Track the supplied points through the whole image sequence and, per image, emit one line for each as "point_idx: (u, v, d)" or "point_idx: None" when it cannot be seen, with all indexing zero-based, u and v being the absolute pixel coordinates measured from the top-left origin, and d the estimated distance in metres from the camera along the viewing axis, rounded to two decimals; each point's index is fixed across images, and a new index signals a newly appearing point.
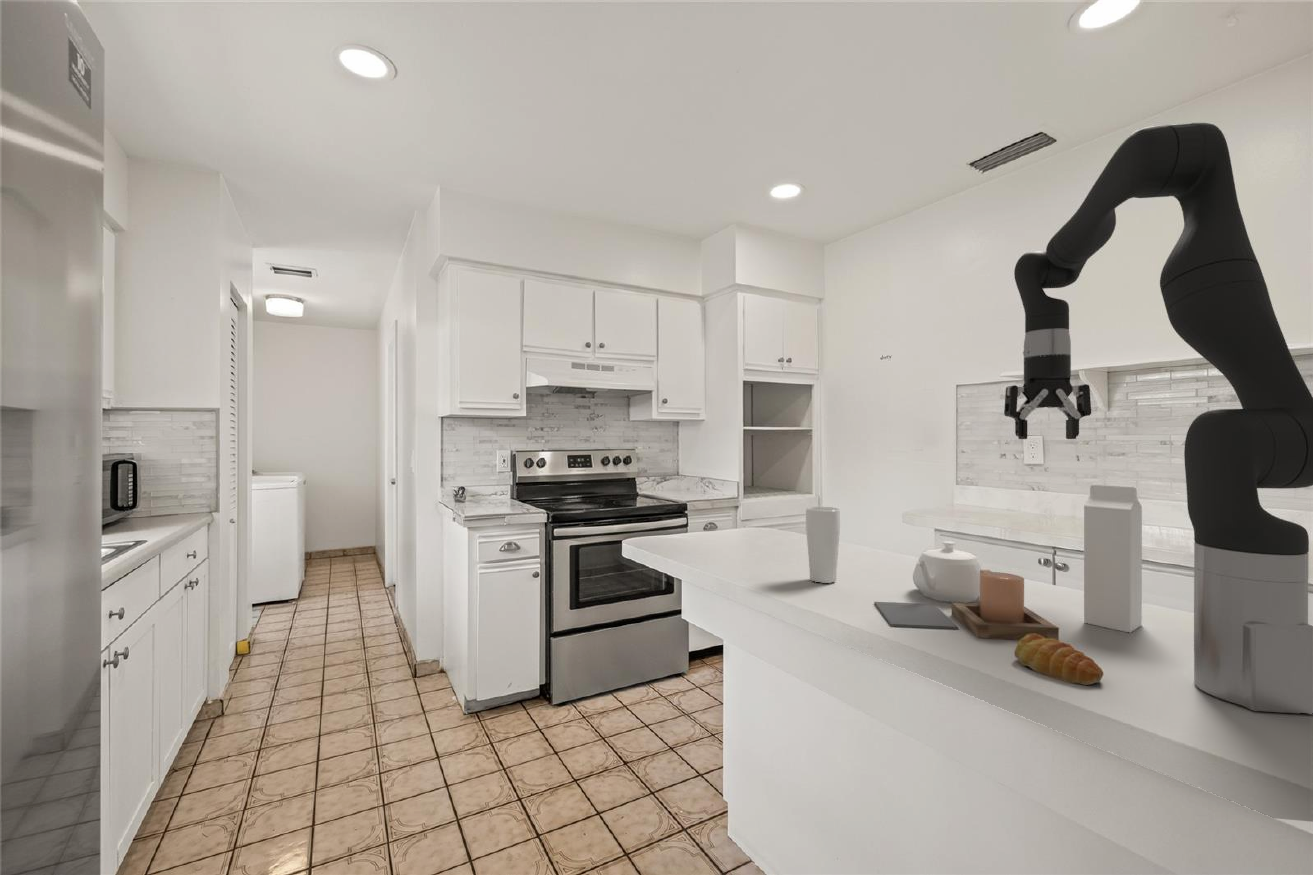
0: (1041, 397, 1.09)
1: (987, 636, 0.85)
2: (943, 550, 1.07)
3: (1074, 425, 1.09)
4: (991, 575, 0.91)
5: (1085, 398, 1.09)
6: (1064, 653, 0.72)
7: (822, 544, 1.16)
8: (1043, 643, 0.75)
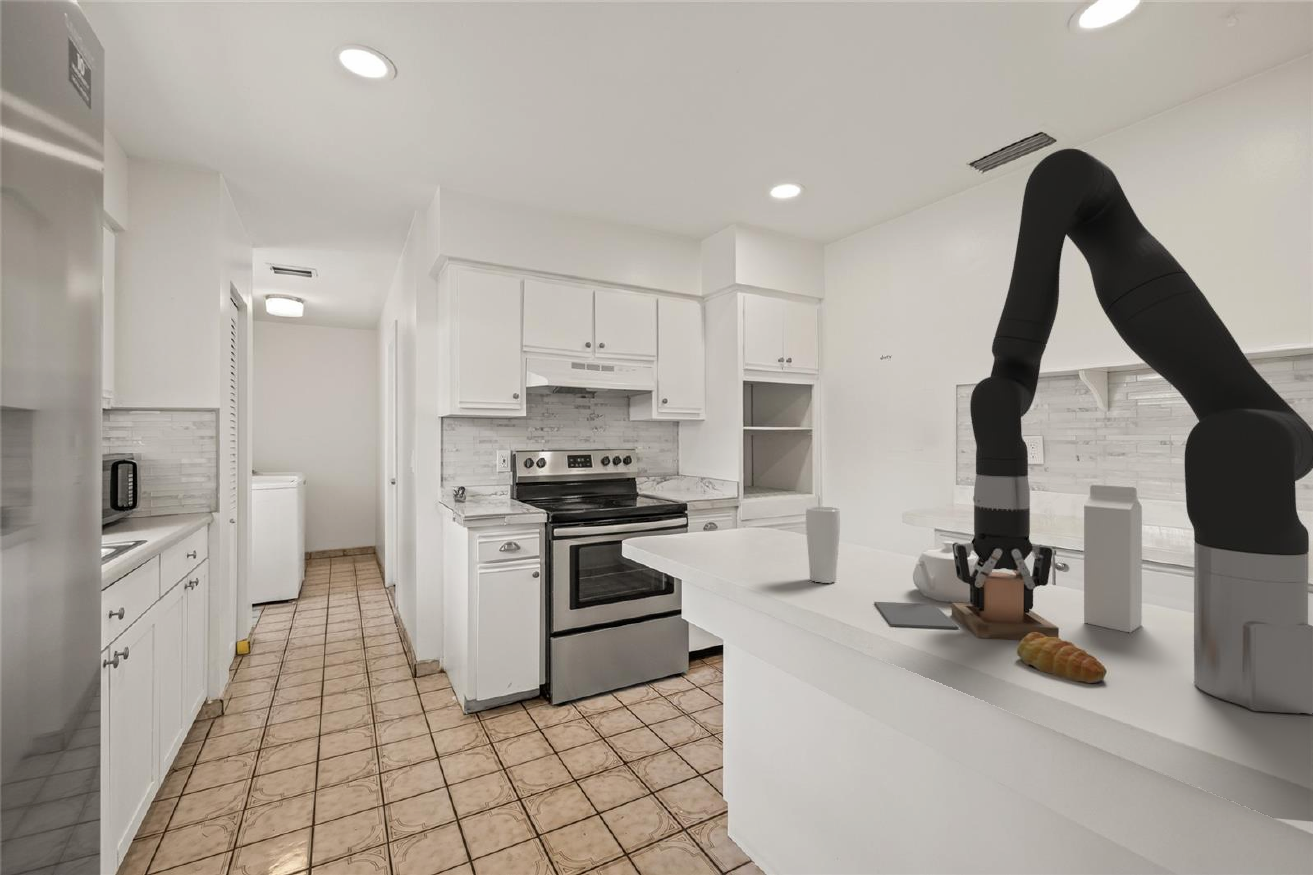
0: (995, 559, 0.89)
1: (987, 636, 0.85)
2: (943, 550, 1.07)
3: (1027, 597, 0.89)
4: (991, 575, 0.91)
5: (1044, 564, 0.88)
6: (1068, 652, 0.73)
7: (822, 544, 1.16)
8: (1046, 642, 0.75)
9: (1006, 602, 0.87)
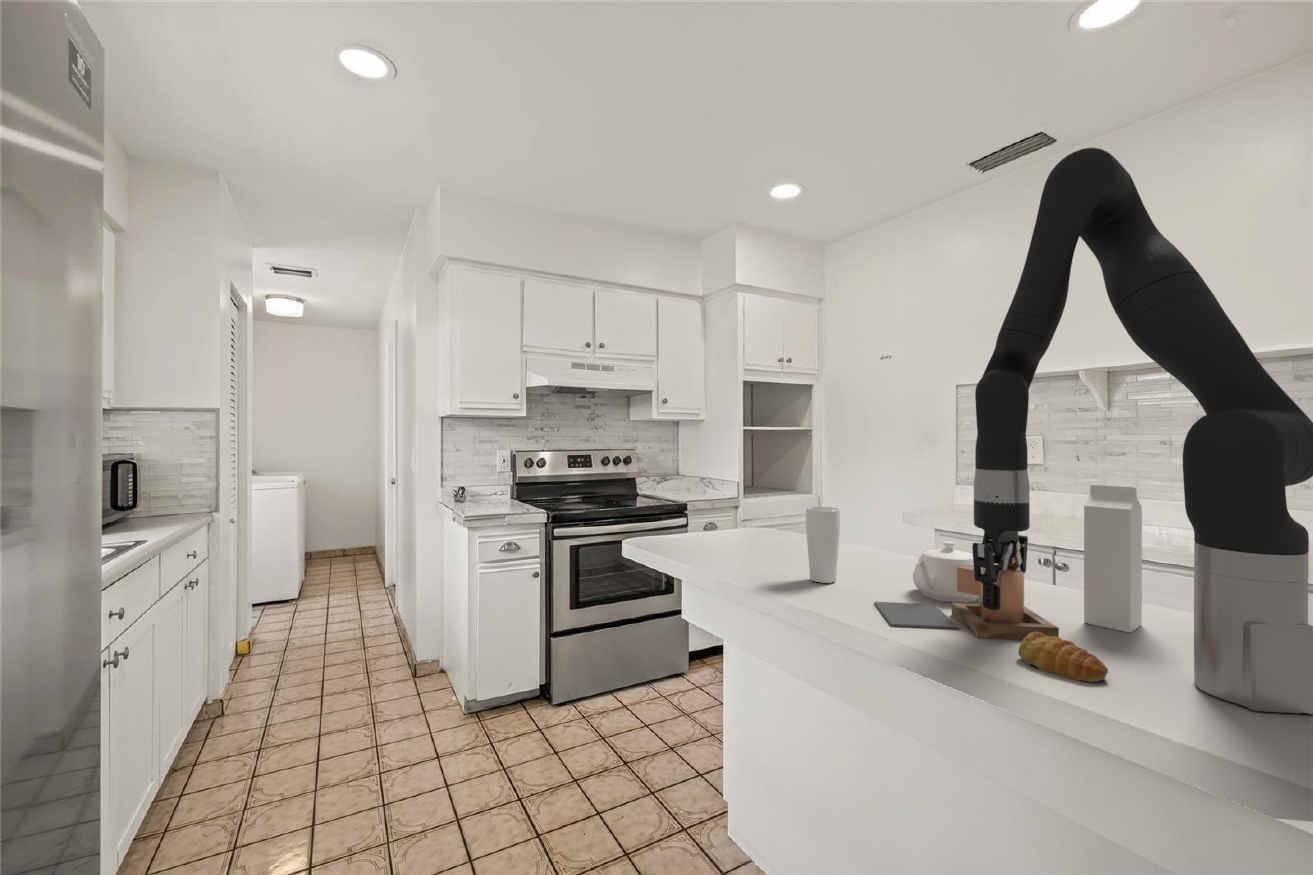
0: (1009, 554, 0.88)
1: (987, 636, 0.85)
2: (943, 550, 1.07)
3: None
4: (994, 571, 0.90)
5: (1024, 552, 0.92)
6: (1069, 651, 0.73)
7: (822, 544, 1.16)
8: (1047, 642, 0.75)
9: (1020, 596, 0.87)
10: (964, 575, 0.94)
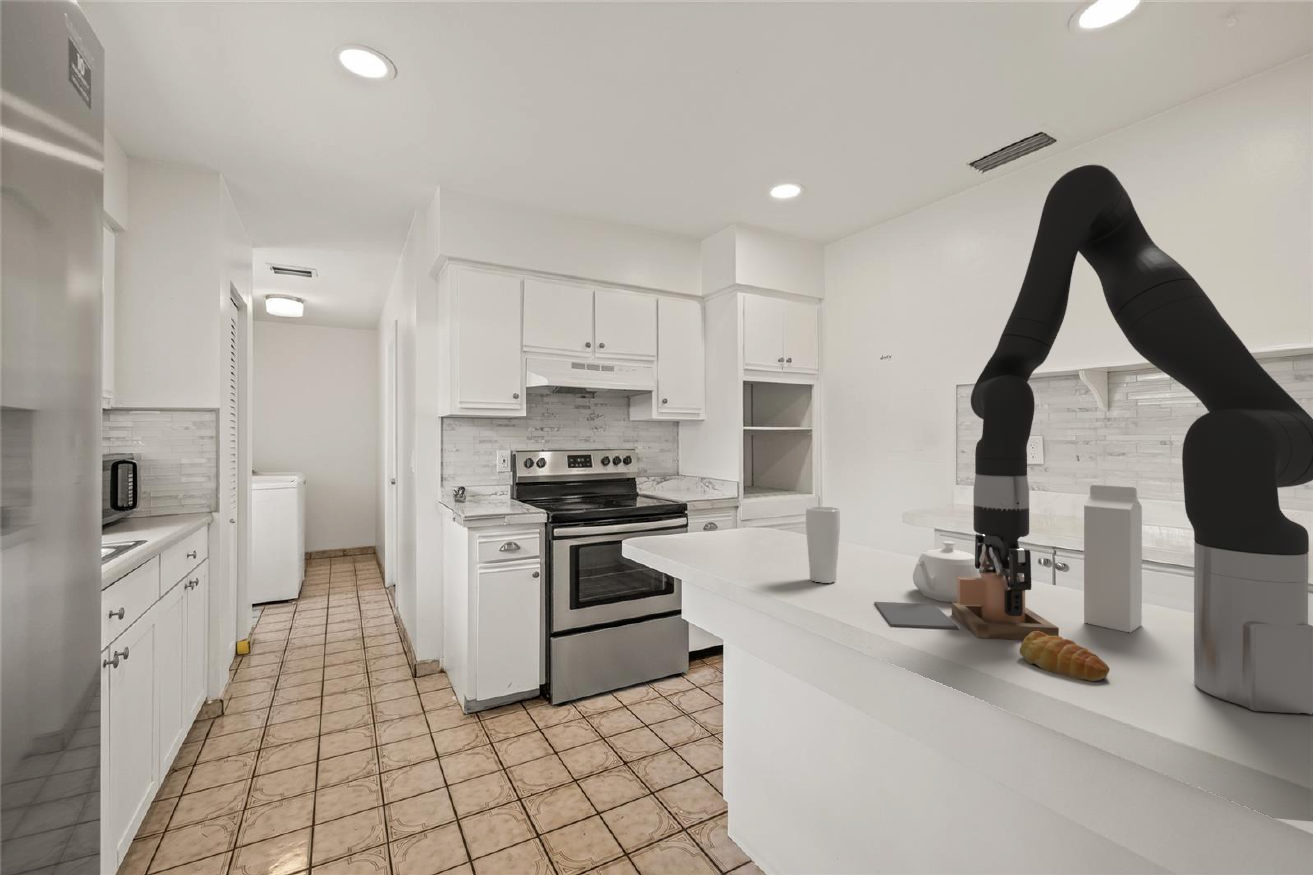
0: None
1: (987, 636, 0.85)
2: (943, 550, 1.07)
3: None
4: None
5: None
6: (1071, 650, 0.73)
7: (822, 544, 1.16)
8: (1048, 641, 0.75)
9: None
10: (968, 587, 0.90)
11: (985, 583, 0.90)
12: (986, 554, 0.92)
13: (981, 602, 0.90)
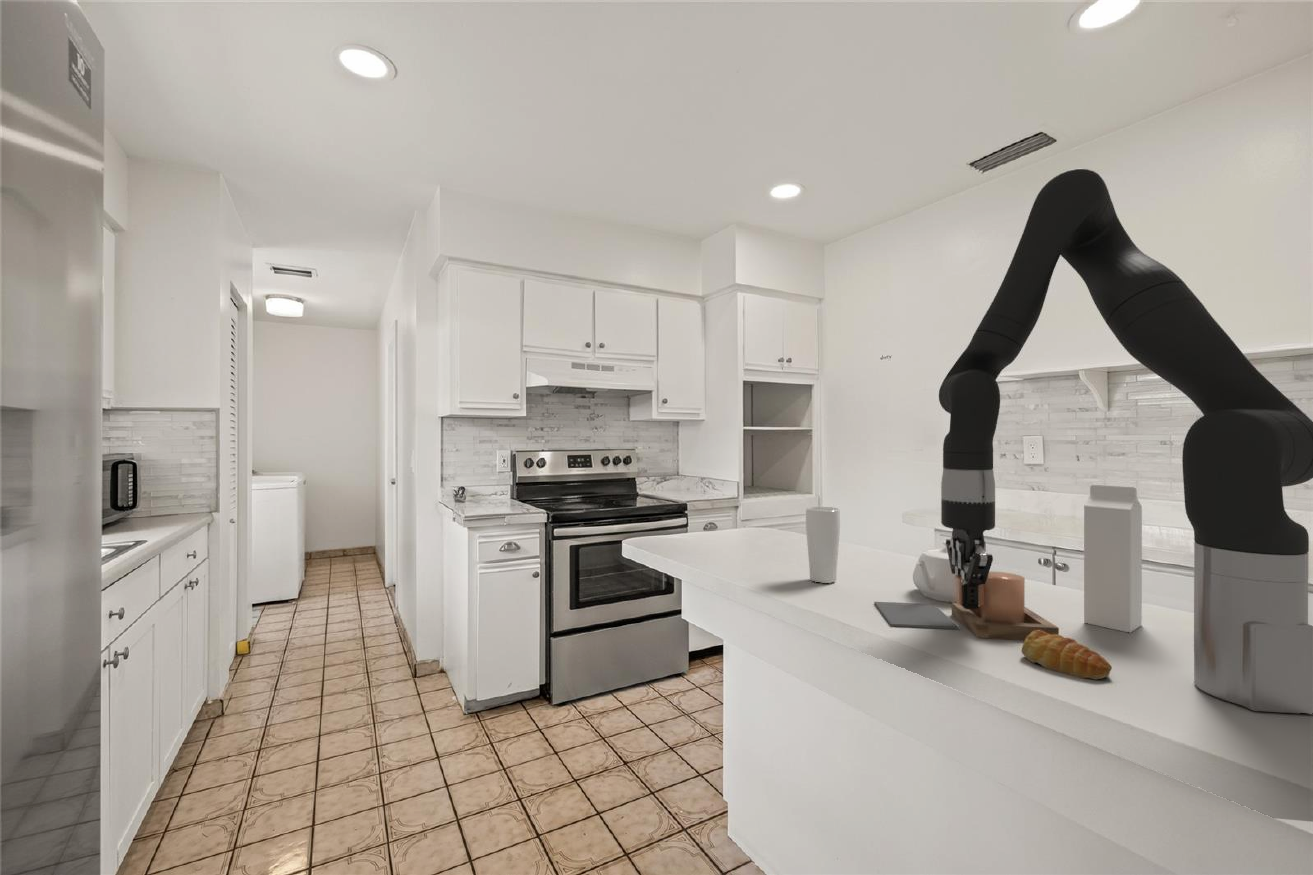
0: None
1: (987, 636, 0.85)
2: (943, 550, 1.07)
3: None
4: (1001, 578, 0.89)
5: None
6: (1073, 649, 0.74)
7: (822, 544, 1.16)
8: (1051, 640, 0.76)
9: None
10: None
11: None
12: (955, 547, 0.92)
13: (980, 602, 0.90)
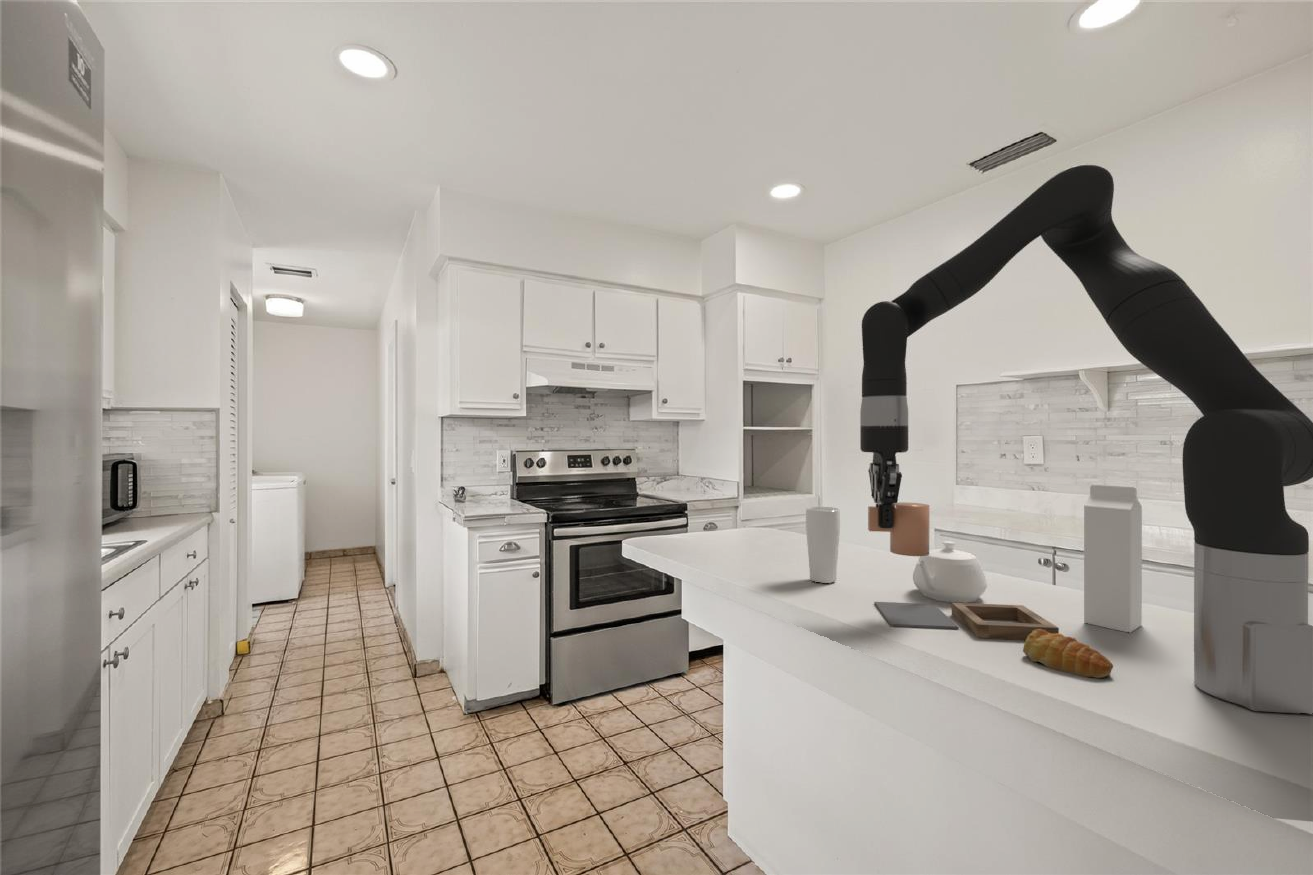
0: None
1: (987, 636, 0.85)
2: (943, 550, 1.07)
3: None
4: (908, 505, 0.95)
5: None
6: (1075, 648, 0.74)
7: (822, 544, 1.16)
8: (1052, 639, 0.76)
9: None
10: (877, 514, 0.96)
11: None
12: (873, 471, 0.98)
13: (889, 528, 0.96)
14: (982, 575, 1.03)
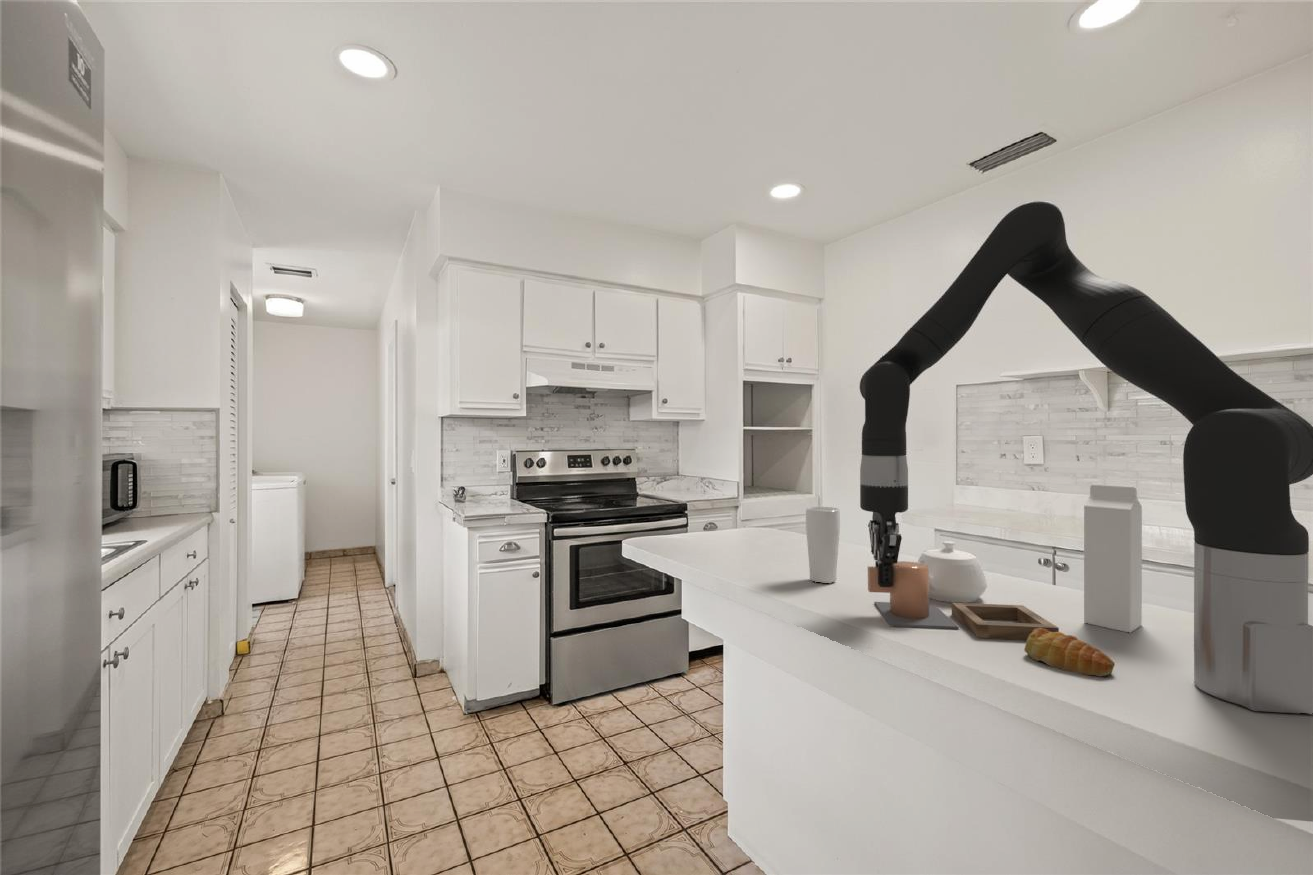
0: None
1: (987, 636, 0.85)
2: (943, 550, 1.07)
3: None
4: (907, 567, 0.95)
5: None
6: (1077, 646, 0.74)
7: (822, 544, 1.16)
8: (1054, 638, 0.77)
9: None
10: (876, 575, 0.96)
11: None
12: (873, 529, 0.98)
13: (889, 589, 0.96)
14: (982, 575, 1.03)
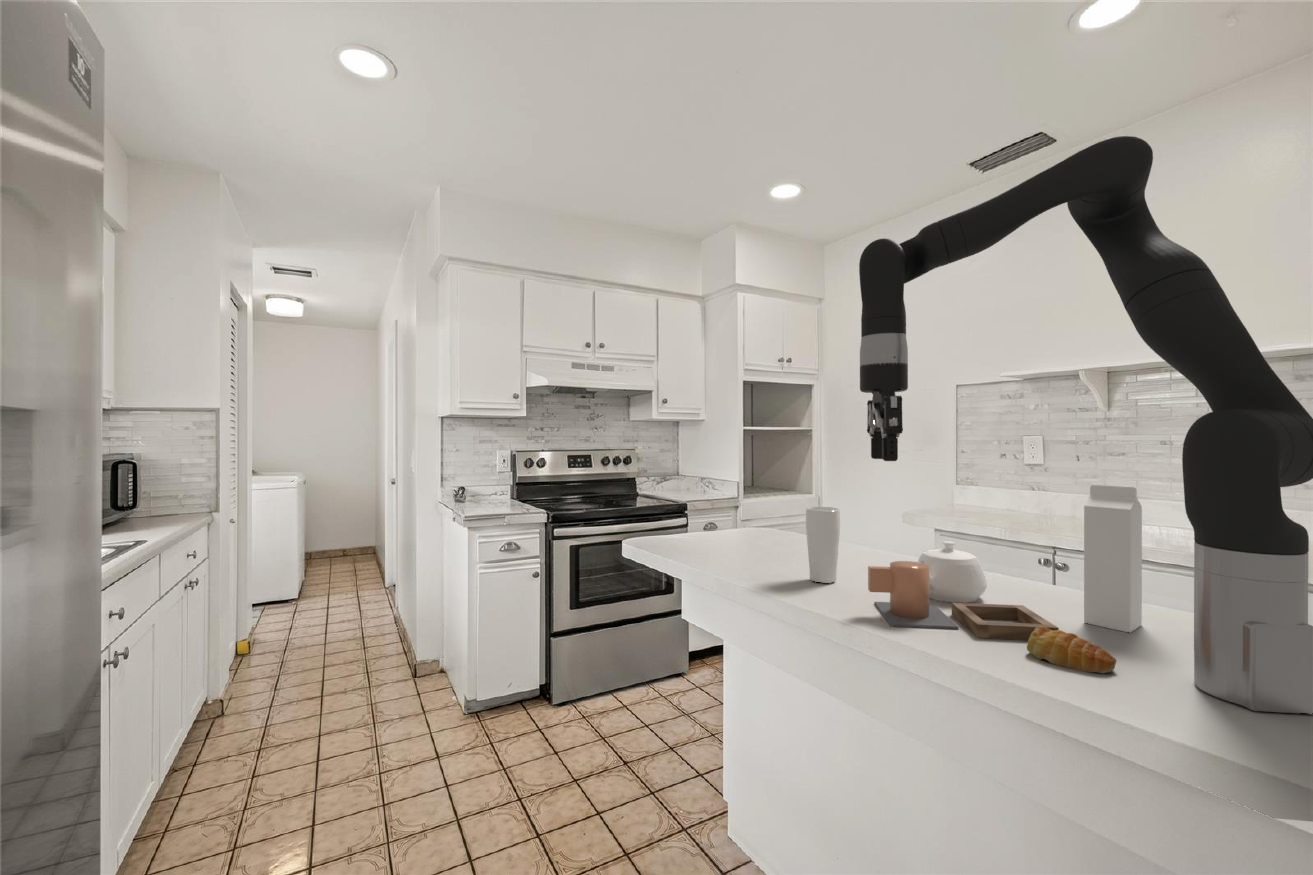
0: None
1: (987, 636, 0.85)
2: (943, 550, 1.07)
3: None
4: (908, 567, 0.95)
5: None
6: (1079, 644, 0.75)
7: (822, 544, 1.16)
8: (1056, 636, 0.77)
9: None
10: (877, 575, 0.96)
11: (893, 571, 0.96)
12: (872, 413, 0.98)
13: (889, 589, 0.96)
14: (982, 575, 1.03)
